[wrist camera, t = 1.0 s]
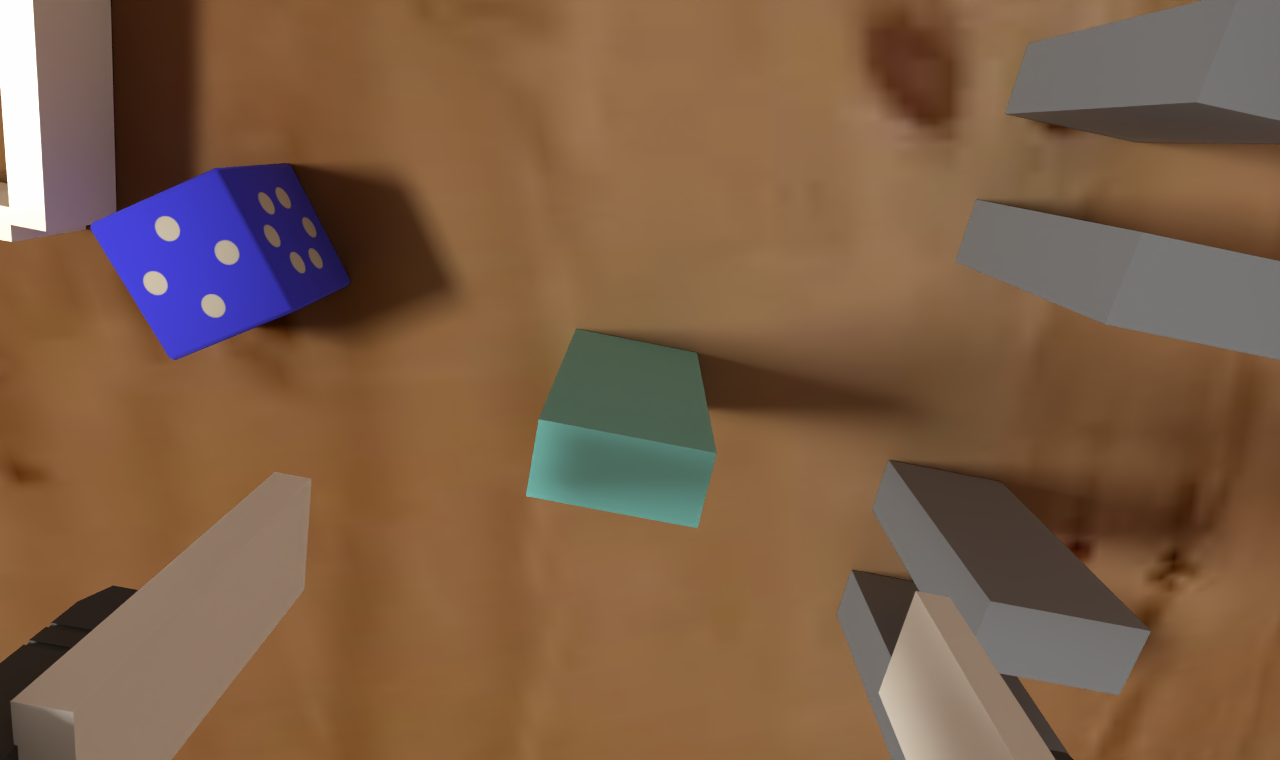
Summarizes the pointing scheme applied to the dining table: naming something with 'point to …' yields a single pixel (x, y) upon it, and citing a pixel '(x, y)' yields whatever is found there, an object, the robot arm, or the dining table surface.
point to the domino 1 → (625, 431)
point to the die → (221, 254)
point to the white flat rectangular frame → (56, 116)
